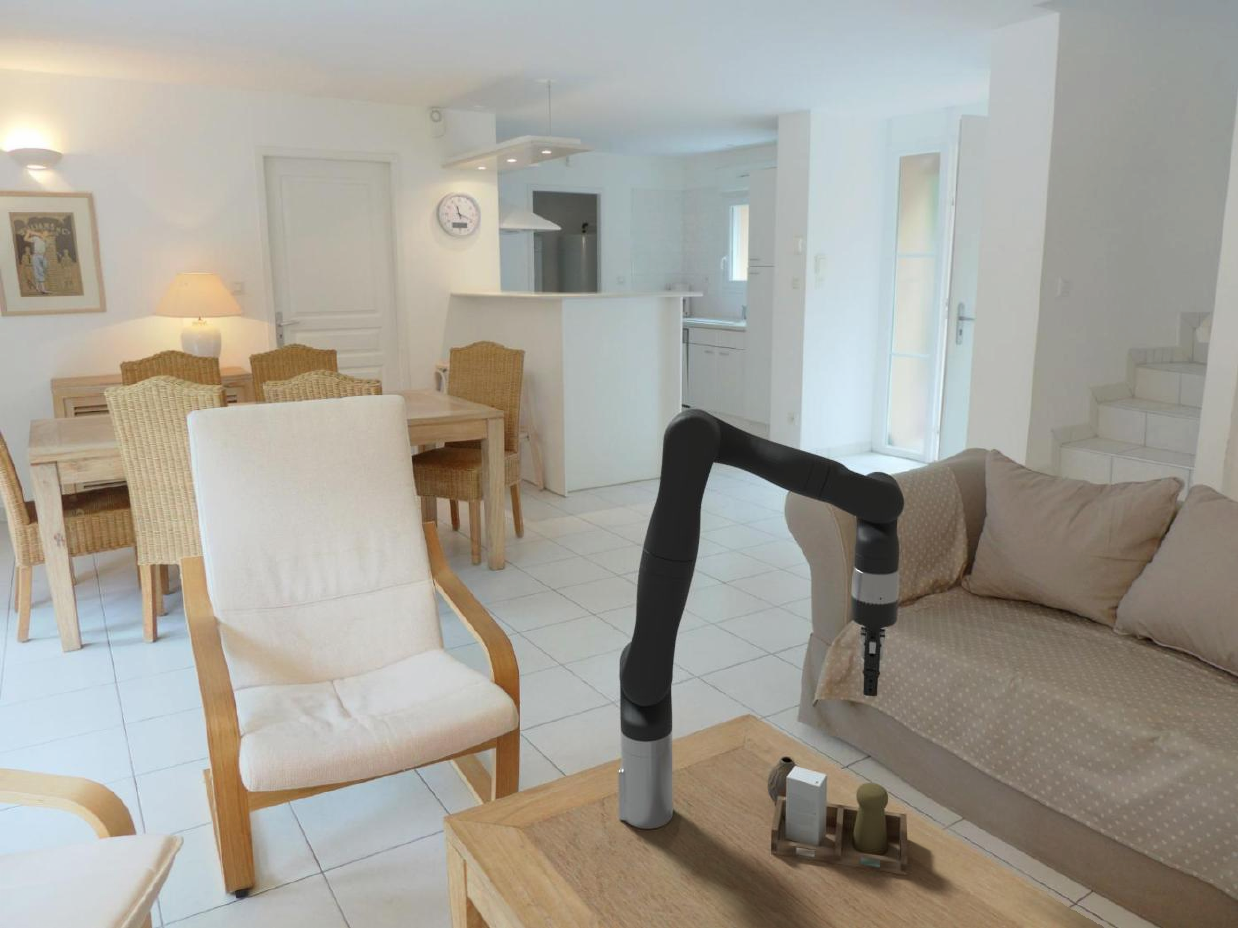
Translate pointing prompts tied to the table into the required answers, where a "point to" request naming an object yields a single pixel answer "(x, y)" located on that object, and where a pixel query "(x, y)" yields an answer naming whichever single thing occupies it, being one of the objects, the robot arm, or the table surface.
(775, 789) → the vase
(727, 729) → the table surface
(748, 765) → the table surface
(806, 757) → the table surface
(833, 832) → the slot rack
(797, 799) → the skincare box
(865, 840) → the cork
